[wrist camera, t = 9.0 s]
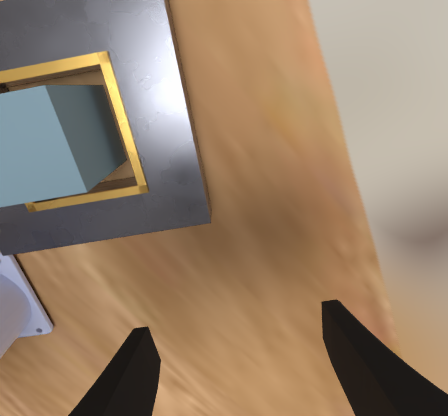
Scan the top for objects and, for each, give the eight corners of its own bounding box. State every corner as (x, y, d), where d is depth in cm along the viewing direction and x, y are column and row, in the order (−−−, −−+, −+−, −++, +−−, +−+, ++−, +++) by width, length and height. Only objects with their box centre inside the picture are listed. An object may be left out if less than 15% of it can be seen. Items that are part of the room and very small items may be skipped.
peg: (60, 171, 18) (-7, 208, 13) (30, 99, 16) (-64, 106, 11) (126, 159, 18) (87, 192, 13) (103, 85, 16) (44, 85, 11)
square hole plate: (22, 240, 20) (0, 257, 18) (-88, 35, 15) (-135, 27, 13) (211, 209, 20) (210, 224, 18) (164, -17, 14) (156, -34, 12)
